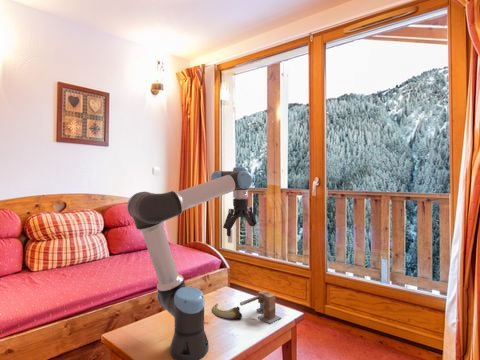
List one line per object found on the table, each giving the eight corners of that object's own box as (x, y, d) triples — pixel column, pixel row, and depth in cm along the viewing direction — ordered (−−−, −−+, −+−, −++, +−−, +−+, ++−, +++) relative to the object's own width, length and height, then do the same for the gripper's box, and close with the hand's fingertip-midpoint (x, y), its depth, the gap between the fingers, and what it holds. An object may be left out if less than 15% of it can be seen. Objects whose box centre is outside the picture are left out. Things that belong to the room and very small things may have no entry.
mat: (270, 324, 138) (270, 323, 138) (257, 317, 144) (257, 316, 144) (281, 318, 144) (281, 317, 144) (269, 312, 150) (269, 311, 150)
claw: (247, 315, 148) (247, 308, 148) (236, 323, 140) (236, 316, 139) (216, 305, 159) (216, 299, 159) (204, 313, 150) (204, 307, 150)
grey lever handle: (244, 322, 140) (244, 301, 140) (237, 318, 144) (237, 297, 143) (270, 310, 152) (270, 291, 152) (263, 307, 156) (263, 288, 155)
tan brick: (275, 317, 144) (275, 295, 144) (269, 319, 141) (269, 297, 141) (263, 311, 150) (264, 290, 150) (258, 313, 147) (258, 292, 147)
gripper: (225, 200, 137) (225, 245, 137) (263, 197, 153) (263, 238, 154) (216, 199, 143) (216, 243, 143) (253, 196, 159) (253, 235, 160)
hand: (240, 240), depth 149 cm, fingers open, 13 cm apart
